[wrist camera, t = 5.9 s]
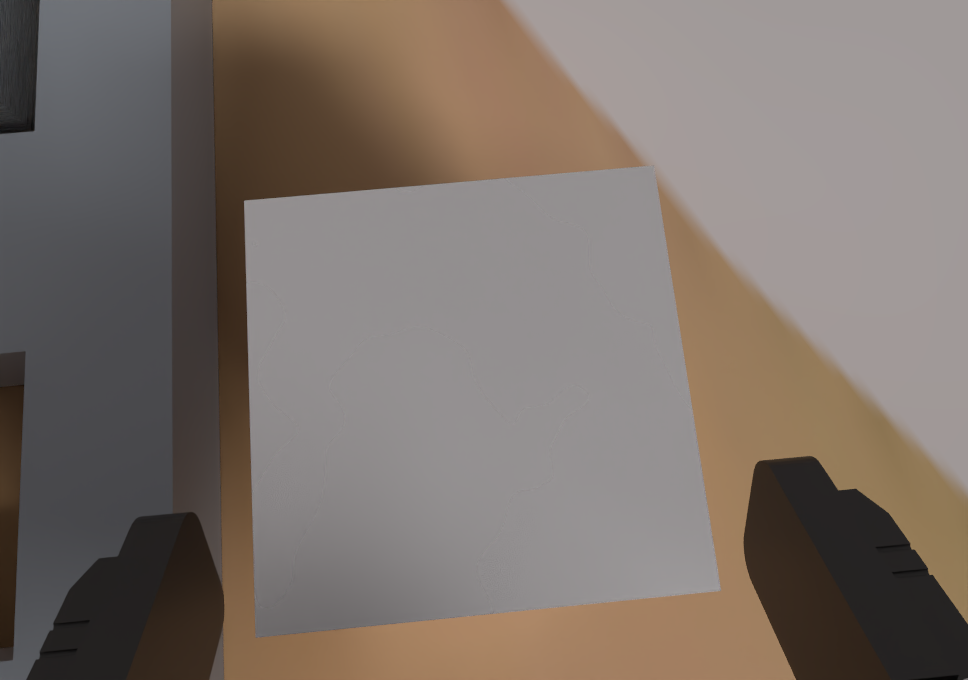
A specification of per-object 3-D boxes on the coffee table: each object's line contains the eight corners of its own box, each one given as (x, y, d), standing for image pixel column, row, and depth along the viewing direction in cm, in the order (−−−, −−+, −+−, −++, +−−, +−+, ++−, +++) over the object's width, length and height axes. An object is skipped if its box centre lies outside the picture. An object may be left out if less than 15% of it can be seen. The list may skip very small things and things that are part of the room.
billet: (580, 555, 18) (720, 590, 8) (386, 574, 18) (255, 637, 8) (557, 366, 19) (653, 165, 9) (374, 383, 19) (244, 200, 9)
